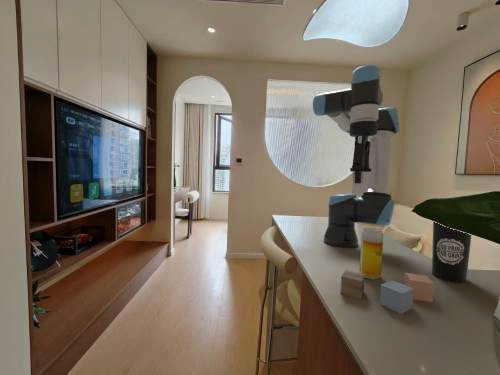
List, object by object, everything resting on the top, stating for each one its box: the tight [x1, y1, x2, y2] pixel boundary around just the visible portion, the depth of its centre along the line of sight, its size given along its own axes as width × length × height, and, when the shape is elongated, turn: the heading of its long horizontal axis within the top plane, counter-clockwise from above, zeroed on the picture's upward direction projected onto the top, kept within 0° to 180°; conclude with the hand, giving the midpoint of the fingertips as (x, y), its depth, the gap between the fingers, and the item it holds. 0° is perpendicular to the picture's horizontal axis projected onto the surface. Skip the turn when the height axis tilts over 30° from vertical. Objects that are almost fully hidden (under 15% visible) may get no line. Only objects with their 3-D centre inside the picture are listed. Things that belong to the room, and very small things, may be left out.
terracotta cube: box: [403, 272, 435, 303], centre depth 63 cm, size 5×5×5 cm
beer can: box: [359, 227, 384, 281], centre depth 74 cm, size 6×6×15 cm
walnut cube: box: [340, 269, 366, 300], centre depth 64 cm, size 5×5×5 cm
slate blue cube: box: [379, 279, 414, 315], centre depth 58 cm, size 5×5×5 cm
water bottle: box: [431, 221, 472, 284], centre depth 75 cm, size 10×10×23 cm
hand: (360, 193), depth 72 cm, fingers open, 13 cm apart
